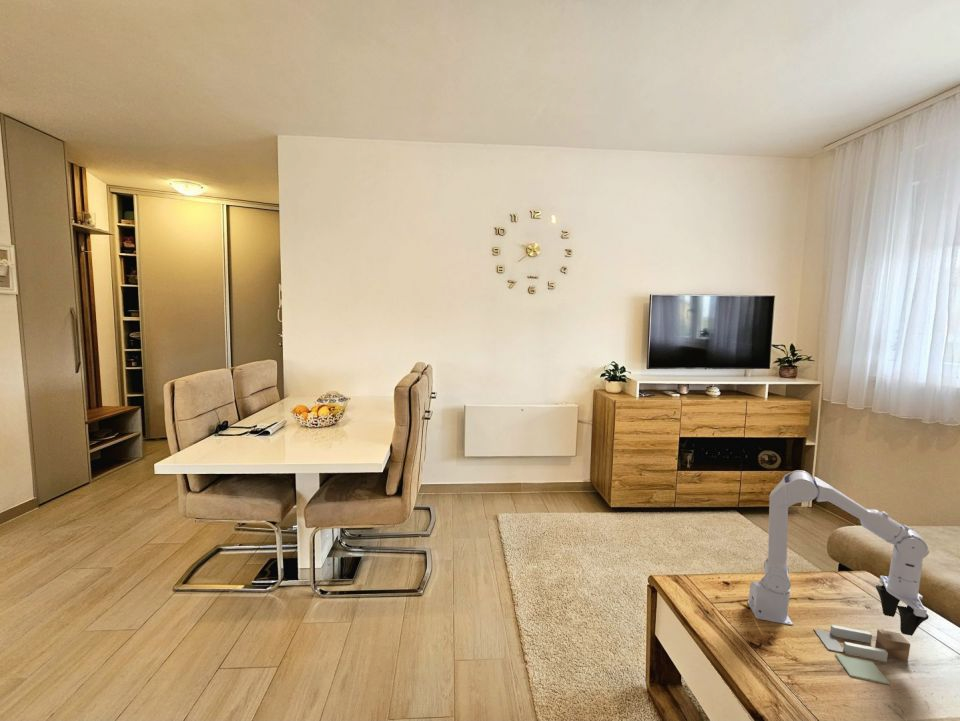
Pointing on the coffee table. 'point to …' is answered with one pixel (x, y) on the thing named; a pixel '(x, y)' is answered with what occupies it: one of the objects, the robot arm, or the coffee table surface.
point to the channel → (851, 647)
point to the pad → (862, 669)
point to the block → (893, 644)
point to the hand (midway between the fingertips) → (897, 624)
